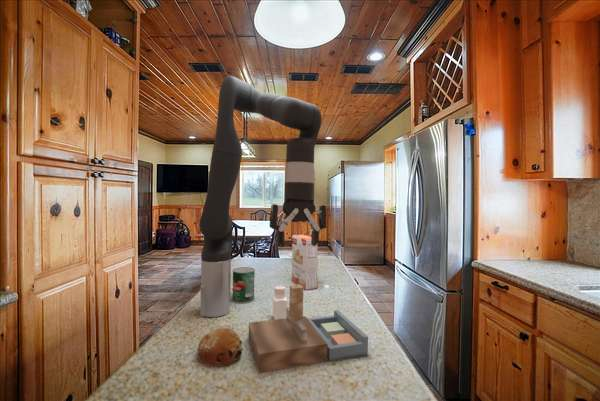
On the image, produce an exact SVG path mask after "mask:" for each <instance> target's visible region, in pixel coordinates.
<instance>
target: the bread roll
mask: <svg viewBox="0 0 600 401" xmlns="http://www.w3.org/2000/svg"><path fill="white" fill-rule="evenodd" d="M242 343H243V342H242V339H241V338H240V336H239V334H238V333H237V332H236V331H235V330H234V329H232V328H230V327H226V326H225V327H218V328H215V329H212V330H210V331H209V332H206V334H204V336H203V337H202V338H201V340H200V341H199V343H198V346H197V357H198V359H199V362H201V363H202V364H205V365H208V366H210V367H224V366H228V365H231V364H233V363H234V362H237V360H238V359H240V356H241V355H242V351H244V347H242Z"/></svg>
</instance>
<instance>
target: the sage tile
mask: <svg viewBox="0 0 600 401" xmlns="http://www.w3.org/2000/svg"><path fill="white" fill-rule="evenodd" d="M321 331H322V332H323V333H324V334H325V335H326V337H327V338H330V337H331V335H337V334H344V333H345V329H344V328H343V327H342V326H341V325H340V324H339V323H338V322H332V323H324V324H321Z"/></svg>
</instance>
